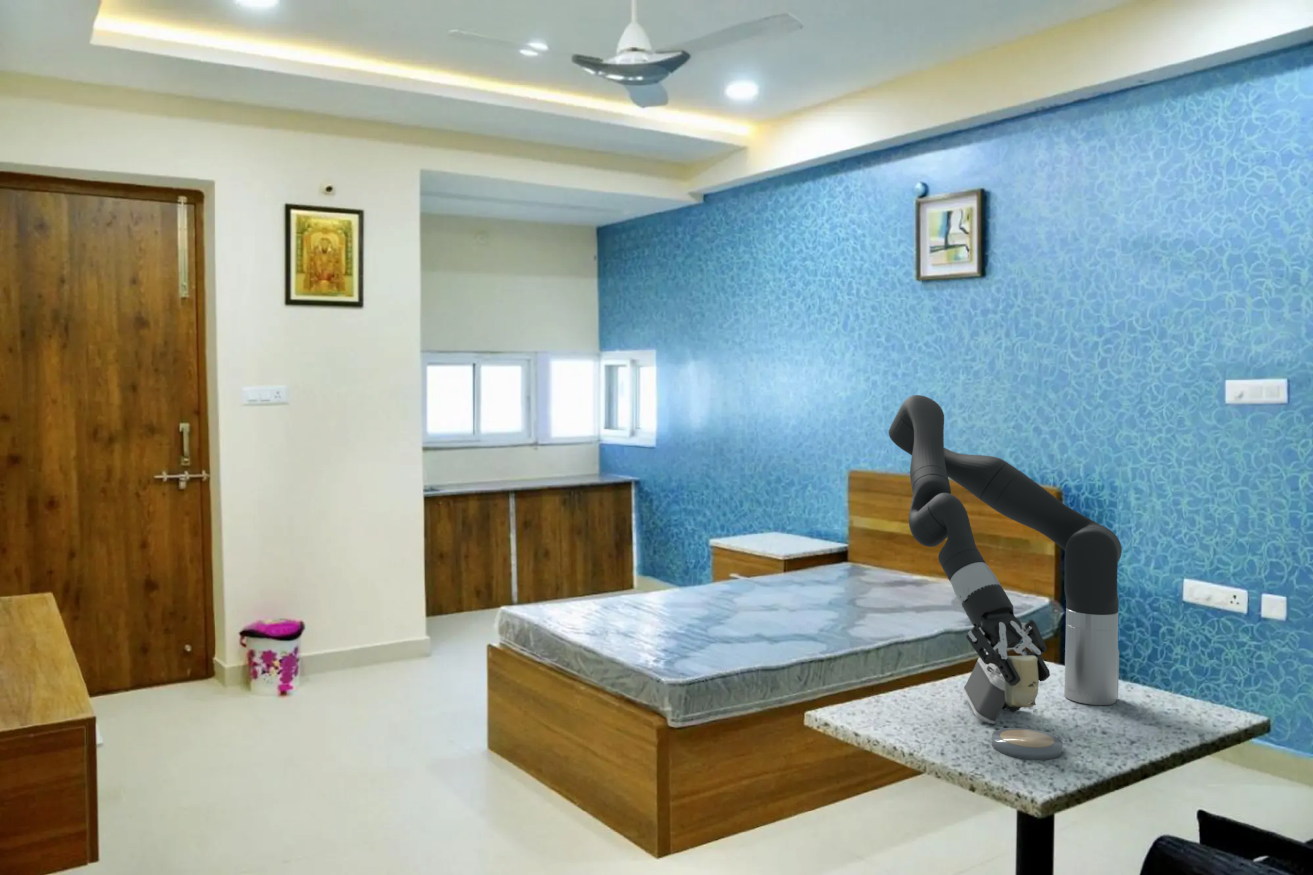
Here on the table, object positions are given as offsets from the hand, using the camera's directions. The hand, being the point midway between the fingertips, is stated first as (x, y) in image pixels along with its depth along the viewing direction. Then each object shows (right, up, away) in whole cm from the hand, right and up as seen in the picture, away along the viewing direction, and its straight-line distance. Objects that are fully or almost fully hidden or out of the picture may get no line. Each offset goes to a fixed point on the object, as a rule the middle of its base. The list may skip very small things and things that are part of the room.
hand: (1030, 680), depth 163 cm
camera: (+1, -11, +20) cm, 23 cm away
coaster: (0, -11, +2) cm, 12 cm away
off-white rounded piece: (-1, -4, +2) cm, 5 cm away
